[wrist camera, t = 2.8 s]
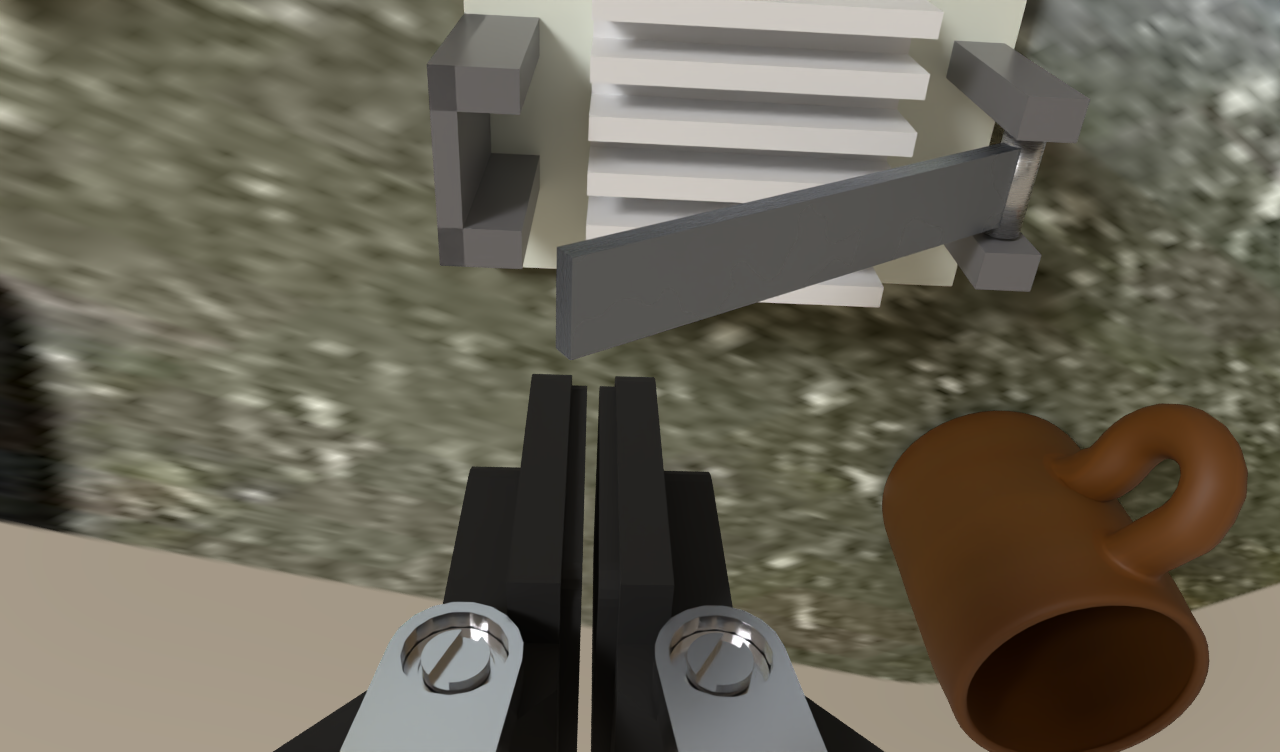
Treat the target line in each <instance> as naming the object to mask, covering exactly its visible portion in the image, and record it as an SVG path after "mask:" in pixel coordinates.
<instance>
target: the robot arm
mask: <svg viewBox="0 0 1280 752" xmlns="http://www.w3.org/2000/svg"><path fill="white" fill-rule="evenodd" d="M586 408H587V386H572V375H551V374H532V379H531V388H530V396H529V404H528V412H527V420H526V428H525V436H524V444H523V452H522V460H521V468H511V467H472V468H471V469H470V473H469V476H468V481H467V486H466V491H465V496H464V501H463V506H462V511H461V516H460V521H459V526H458V531H457V536H456V541H455V546H454V551H453V556H452V561H451V566H450V571H449V576H448V581H447V586H446V591H445V596H444V601H443V604H442V605H437V606H433V607H431V608H429V609H427V610H424V611H422V612H420V613H418V614H416V615H414V616H413V617H412V618H410V619H409V620H408V621H407V622H406V623H404V624H403V625H402V626H401V627H400V628H399V629H398V631H397V632H396V633H395V635H394V636H393V638H392V639H391V641H390V642H389V644H388V646H387V649H386V651H385V653H384V655H383V657H382V660H381V662H380V664H379V666H378V668H377V671H376V673H375V675H374V677H373V680H372V682H371V684H370V686H369V688H368V690H367V691H365V692H364V693H362V694H361V695H359V696H358V697H356V698H355V699H353V700H351V701H350V702H349V703H347V704H346V705H344V706H342V707H341V708H339V709H338V710H336V711H335V712H333V713H332V714H330V715H329V716H327V717H325V718H324V719H322V720H321V721H320V722H318V723H316V724H315V725H314V726H312V727H310V728H309V729H307V730H306V731H304V732H302V733H301V734H299V735H298V736H296V737H295V738H293V739H292V740H290V741H289V742H287V743H286V744H284V745H283V746H281V747H280V748H278V749H277V750H275V751H273V752H577V730H578V729H577V728H578V696H579V695H578V694H579V663H580V661H579V660H580V630H581V597H582V561H583V523H584V484H585V446H586ZM592 632H593V634H592V715H591V716H592V717H591V752H884V751H882V750H881V749H880V748H878V747H877V746H875V745H874V744H873V743H871V742H870V741H868V740H867V739H866V738H864V737H863V736H861V735H860V734H858V733H857V732H855V731H854V730H853V729H851V728H850V727H848V726H847V725H846V724H844V723H843V722H841V721H840V720H839V719H837V718H836V717H834V716H833V715H831V714H830V713H829V712H827V711H826V710H824V709H823V708H821V707H820V706H819V705H817V704H815V703H814V702H813V701H812V700H810V699H809V698H807V697H806V696H804V693H803V691H802V689H801V686H800V684H799V681H798V679H797V676H796V674H795V671H794V669H793V666H792V664H791V662H790V659H789V657H788V654H787V652H786V649H785V647H784V645H783V644H782V642H781V641H780V639H779V637H778V636H777V634H776V632H775V631H773V630H772V629H771V628H770V627H769V626H768V625H767V624H766V623H764V622H763V621H762V620H761V619H759V618H757V617H755V616H753V615H751V614H749V613H747V612H745V611H743V610H739V609H735V608H733V607H732V601H731V594H730V588H729V582H728V576H727V570H726V564H725V558H724V552H723V545H722V539H721V533H720V527H719V521H718V515H717V509H716V503H715V496H714V490H713V484H712V479H711V475H710V473H709V472H688V471H664V469H663V458H662V448H661V437H660V426H659V415H658V404H657V394H656V383H655V378H654V377H620V376H616V377H615V387H606V386H600V391H599V416H598V443H597V469H596V495H595V522H594V552H593V630H592Z"/></svg>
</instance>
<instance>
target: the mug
mask: <svg viewBox="0 0 1280 752" xmlns="http://www.w3.org/2000/svg"><path fill="white" fill-rule="evenodd" d="M1165 459H1172V460H1175V461H1176V462H1177V463H1178V464H1179V466H1180V472H1181V476H1180V480H1179V483H1178V486H1177V488H1176V490H1175V492H1174V493H1173V495H1172V497H1171V498H1170V499H1169V500H1168V501H1167V502H1166V503H1165V504H1163V505H1162V506H1161V507H1159V508H1157V509H1156V510H1154V511H1152V512H1150V513H1148V514H1147V515H1145V516H1143V517H1141V518H1140V519H1138V520H1136V521H1134V522H1133V521H1132V520H1131V518H1130V517H1129V516H1128V514H1127V513H1126V511H1125V510H1124V508H1123V507H1122V505H1121V504H1120V503H1119V501H1118V500H1117V499H1116V498H1119V497H1121V496H1123V495H1124V494H1126V493H1128V492H1130V491H1131V490H1132V489H1133V488H1135V487H1136V486H1137V485H1138V484H1140V482H1141V481H1142V480H1143V479H1144V478H1145V477H1146V476H1147V475H1148V474H1149V473H1150V471H1151V470H1152V469H1153V468H1154V467H1155V466H1156V465H1158V464H1159V463H1160V462H1162V461H1163V460H1165ZM1247 477H1248V470H1247V467H1246V464H1245V460H1244V457H1243V453H1242V450H1241V448H1240V446H1239V444H1238V442H1237V441H1236V439H1235V438H1234V437H1233V435H1232V434H1231V433H1230V431H1229V430H1228V428H1227V427H1226V426H1225V425H1223V424H1222V423H1221V422H1219V421H1218V420H1216V419H1215V418H1213V417H1212V416H1210V415H1209V414H1207V413H1206V412H1204V411H1203V410H1200V409H1197V408H1194V407H1191V406H1188V405H1180V404H1156V405H1152V406H1147V407H1144V408H1141V409H1139V410H1136V411H1134V412H1132V413H1130V414H1128V415H1125V416H1124V417H1122V418H1121V419H1120V420H1118V421H1117V422H1115V423H1114V424H1113V425H1112V426H1111V427H1109V428H1108V429H1107V430H1106V431H1105V432H1104V433H1103V434H1102V435H1101V436H1100V438H1099V439H1098V440H1097V441H1096V442H1095V443H1094V444H1093V445H1092V446H1091V447H1090V448H1085V449H1082V450H1081V449H1080V448H1079V447H1078V446H1077V444H1076V443H1075V442H1074V441H1073V440H1072V439H1071V438H1070V437H1069V436H1068V435H1067V434H1065V433H1064V432H1063V431H1062V430H1060V429H1059V428H1058V427H1057V426H1055V425H1053V424H1052V423H1050V422H1048V421H1046V420H1044V419H1041V418H1039V417H1036V416H1033V415H1029V414H1025V413H1020V412H1013V411H985V412H978V413H973V414H968V415H965V416H961V417H958V418H955V419H953V420H950V421H948V422H945V423H943V424H941V425H939V426H937V427H935V428H934V429H932V430H930V431H929V432H927V433H926V434H924V435H923V436H921V437H920V438H919V439H918V440H916V441H915V442H914V443H913V444H912V445H911V446H910V447H909V448H908V449H907V450H906V451H905V452H904V453H903V454H902V455H901V457H900V458H899V459H898V461H897V462H896V464H895V465H894V467H893V469H892V471H891V473H890V475H889V477H888V479H887V482H886V484H885V488H884V492H883V500H882V512H883V520H884V525H885V529H886V532H887V535H888V538H889V542H890V545H891V548H892V551H893V553H894V556H895V559H896V562H897V565H898V568H899V571H900V574H901V577H902V580H903V583H904V586H905V589H906V592H907V595H908V598H909V601H910V604H911V607H912V610H913V612H914V615H915V618H916V621H917V624H918V627H919V629H920V632H921V635H922V638H923V641H924V644H925V646H926V649H927V652H928V655H929V658H930V661H931V663H932V666H933V669H934V671H935V674H936V676H937V679H938V681H939V683H940V685H941V687H942V689H943V691H944V693H945V695H946V697H947V699H948V702H949V704H950V706H951V709H952V711H953V713H954V716H955V718H956V719H957V721H958V723H959V725H960V727H961V728H962V729H963V730H964V732H965V733H966V734H967V735H968V736H969V737H970V738H971V739H972V740H973V741H975V742H976V743H977V744H978V745H980V746H981V747H983V748H984V749H986V750H988V751H989V752H1120V751H1122V750H1125V749H1127V748H1130V747H1132V746H1134V745H1136V744H1138V743H1141V742H1143V741H1145V740H1146V739H1148V738H1150V737H1151V736H1153V735H1155V734H1156V733H1158V732H1160V731H1161V730H1162V729H1164V728H1166V727H1167V726H1168V725H1170V724H1171V723H1172V722H1174V721H1175V720H1176V719H1177V718H1178V717H1179V716H1180V715H1182V714H1183V712H1184V711H1185V710H1186V709H1187V708H1188V707H1189V706H1190V705H1191V704H1192V702H1193V701H1194V700H1195V698H1196V697H1197V695H1198V694H1199V692H1200V690H1201V688H1202V686H1203V684H1204V682H1205V679H1206V676H1207V673H1208V667H1209V651H1208V644H1207V641H1206V638H1205V635H1204V633H1203V631H1202V630H1201V628H1200V626H1199V624H1198V623H1197V621H1196V619H1195V618H1194V616H1193V615H1192V613H1191V611H1190V609H1189V607H1188V605H1187V603H1186V601H1185V600H1184V598H1183V596H1182V594H1181V592H1180V590H1179V589H1178V587H1177V585H1176V583H1175V582H1174V580H1173V579H1172V577H1171V576H1170V574H1169V573H1168V571H1170V570H1172V569H1175V568H1177V567H1179V566H1181V565H1183V564H1185V563H1187V562H1189V561H1191V560H1193V559H1195V558H1197V557H1199V556H1201V555H1203V554H1206V553H1208V552H1210V551H1211V550H1212V549H1213V548H1214V547H1215V546H1217V545H1218V544H1219V543H1220V542H1221V540H1222V539H1223V538H1224V536H1225V535H1226V534H1227V532H1228V531H1229V530H1230V528H1231V527H1232V525H1233V524H1234V523H1235V521H1236V518H1237V516H1238V514H1239V512H1240V510H1241V507H1242V505H1243V503H1244V501H1245V499H1246V494H1247Z"/></svg>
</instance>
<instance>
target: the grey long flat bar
mask: <svg viewBox="0 0 1280 752" xmlns="http://www.w3.org/2000/svg"><path fill="white" fill-rule="evenodd" d="M1045 146H1046V142H1041V141H1022V140H1016V139H1015V138H1013V137H1012V136H1011V135H1010V134H1009V133H1008V132H1007V131H1006V130H1004V134H1003V137H1002V141H1001V143H999V144H995V145H991V146H986V147H982V148H978V149H973V150H969V151H965V152H961V153H956V154H952V155H948V156H944V157H939V158H935V159H931V160H926V161H922V162H918V163H914V164H909V165H905V166H901V167H897V168H892V169H888V170H884V171H879V172H875V173H871V174H867V175H862V176H858V177H854V178H849V179H845V180H841V181H837V182H832V183H828V184H824V185H820V186H815V187H811V188H807V189H802V190H798V191H794V192H790V193H785V194H781V195H777V196H772V197H768V198H764V199H760V200H755V201H751V202H747V203H743V204H738V205H734V206H730V207H725V208H721V209H717V210H713V211H708V212H704V213H700V214H696V215H691V216H687V217H683V218H678V219H674V220H670V221H666V222H661V223H657V224H653V225H648V226H644V227H640V228H636V229H631V230H627V231H623V232H619V233H614V234H610V235H606V236H601V237H597V238H593V239H589V240H584V241H580V242H576V243H572V244H567V245H563V246H559V247H557V275H556V349H558V350H559V351H560V352H561V353H562V354H564V355H565V356H566V357H567V358H568V359H570V360H573V359H577V358H580V357H583V356H586V355H590V354H593V353H596V352H599V351H602V350H606V349H609V348H612V347H615V346H618V345H622V344H625V343H628V342H631V341H635V340H638V339H641V338H644V337H647V336H651V335H654V334H657V333H660V332H663V331H667V330H670V329H673V328H676V327H680V326H683V325H686V324H689V323H692V322H696V321H699V320H702V319H705V318H709V317H712V316H715V315H718V314H721V313H725V312H728V311H731V310H734V309H737V308H741V307H744V306H747V305H750V304H754V303H757V302H760V301H763V300H766V299H770V298H773V297H776V296H779V295H782V294H786V293H789V292H792V291H795V290H799V289H802V288H805V287H808V286H811V285H815V284H818V283H821V282H824V281H827V280H831V279H834V278H837V277H840V276H844V275H847V274H850V273H853V272H856V271H860V270H863V269H866V268H869V267H873V266H876V265H879V264H882V263H885V262H889V261H892V260H895V259H898V258H901V257H905V256H908V255H911V254H914V253H918V252H921V251H924V250H927V249H930V248H934V247H937V246H940V245H943V244H946V243H950V242H953V241H956V240H959V239H963V238H966V237H969V236H972V235H975V234H979V233H983V234H985V235H987V236H990V237H994V238H998V239H1015V238H1017V237H1018V236H1019V234H1020V230H1021V227H1022V224H1023V220H1024V217H1025V213H1026V210H1027V207H1028V203H1029V200H1030V196H1031V193H1032V190H1033V186H1034V183H1035V180H1036V176H1037V173H1038V169H1039V166H1040V163H1041V159H1042V156H1043V152H1044V149H1045Z"/></svg>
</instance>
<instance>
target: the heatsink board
mask: <svg viewBox="0 0 1280 752" xmlns="http://www.w3.org/2000/svg"><path fill="white" fill-rule="evenodd" d="M1026 2H1027V0H464V15H463V16H462V17H461V19H460V20H459V21H458V23H457V24H456V25H455V27H454V28H453V29H452V31H451V32H450V34H449V35H448V36H447V38H446V39H445V40H444V42H443V43H442V44H441V46H440V47H439V48H438V50H437V51H436V52H435V54H434V55H433V57H432V58H431V59H430V61H429V62H428V63H427V75H428V90H429V105H430V120H431V136H432V151H433V166H434V181H435V196H436V211H437V227H438V242H439V257H440V265H441V266H464V267H486V268H509V269H522V268H523V267H528V268H551V269H557V247H559V246H563V245H567V244H572V243H576V242H580V241H584V240H589V239H593V238H597V237H601V236H606V235H610V234H614V233H619V232H623V231H627V230H631V229H636V228H640V227H644V226H648V225H653V224H657V223H661V222H666V221H670V220H674V219H678V218H683V217H687V216H691V215H696V214H700V213H704V212H708V211H713V210H717V209H721V208H725V207H730V206H734V205H738V204H743V203H747V202H751V201H755V200H760V199H764V198H768V197H772V196H777V195H781V194H785V193H790V192H794V191H798V190H802V189H807V188H811V187H815V186H820V185H824V184H828V183H832V182H837V181H841V180H845V179H849V178H854V177H858V176H862V175H867V174H871V173H875V172H879V171H884V170H888V169H892V168H897V167H901V166H905V165H909V164H914V163H918V162H922V161H926V160H931V159H935V158H939V157H944V156H948V155H952V154H956V153H961V152H965V151H969V150H973V149H978V148H982V147H986V146H989V143H990V139H991V136H992V132H993V128H994V124H995V122H996V123H998V124H999V125H1000V126H1001V127H1002V128H1003V129H1004V130H1006V131H1007V132H1008V133H1009V134H1010V135H1011V136H1012V137H1013V138H1015V139H1016V140H1022V141H1041V142H1061V143H1077V140H1078V137H1079V134H1080V131H1081V128H1082V124H1083V121H1084V118H1085V115H1086V112H1087V108H1088V105H1089V102H1090V99H1089V98H1087V97H1086V96H1084V95H1083V94H1081V93H1080V92H1078V91H1077V90H1075V89H1074V88H1072V87H1071V86H1069V85H1068V84H1066V83H1064V82H1063V81H1061V80H1060V79H1058V78H1057V77H1055V76H1054V75H1052V74H1051V73H1049V72H1048V71H1046V70H1045V69H1043V68H1042V67H1040V66H1039V65H1037V64H1036V63H1034V62H1032V61H1031V60H1029V59H1028V58H1026V57H1025V56H1023V55H1022V54H1020V53H1019V52H1017V51H1016V50H1014V48H1015V44H1016V40H1017V36H1018V33H1019V29H1020V25H1021V21H1022V17H1023V13H1024V10H1025V6H1026ZM1040 259H1041V254H1040V253H1039V252H1038V251H1037V250H1036V248H1035V247H1034V246H1033V245H1032V244H1031V243H1030V242H1029V241H1028V240H1027V238H1026V237H1025V236H1024V235H1023V234H1022V233H1021V232H1020V234H1019V236H1018V237H1017V238H1015V239H998V238H994V237H990V236H987V235H985V234H983V233H979V234H975V235H972V236H969V237H966V238H963V239H959V240H956V241H953V242H950V243H946V244H943V245H940V246H937V247H934V248H930V249H927V250H924V251H921V252H918V253H914V254H911V255H908V256H905V257H901V258H898V259H895V260H892V261H889V262H885V263H882V264H879V265H876V266H873V267H869V268H866V269H863V270H860V271H856V272H853V273H850V274H847V275H844V276H840V277H837V278H834V279H831V280H827V281H824V282H821V283H818V284H815V285H811V286H808V287H805V288H802V289H799V290H795V291H792V292H789V293H786V294H782V295H779V296H776V297H773V298H770V299H766V300H763V301H760V302H766V303H789V304H812V305H835V306H858V307H880V303H881V298H882V294H883V289H884V287H883V285H882V283H888V284H911V285H933V286H952V285H953V281H954V277H955V273H956V269H957V265H959V267H960V268H961V270H962V271H963V273H964V274H965V275H966V277H967V278H968V280H969V281H970V282H971V284H972V285H973V287H974V288H975V289H982V290H1005V291H1027V292H1030V290H1031V287H1032V284H1033V281H1034V278H1035V275H1036V271H1037V268H1038V265H1039V262H1040Z"/></svg>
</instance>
